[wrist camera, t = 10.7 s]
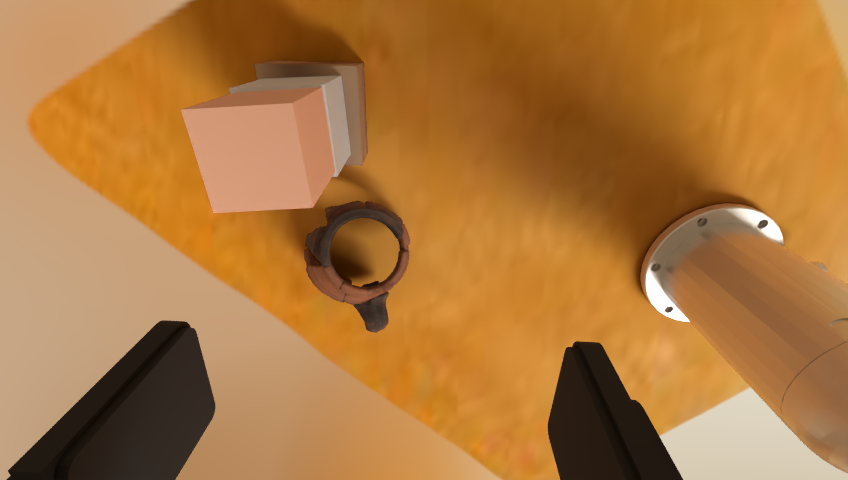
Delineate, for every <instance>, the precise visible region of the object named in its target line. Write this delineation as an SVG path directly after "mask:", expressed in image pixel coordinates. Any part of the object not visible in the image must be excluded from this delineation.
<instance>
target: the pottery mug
mask: <svg viewBox="0 0 848 480" xmlns="http://www.w3.org/2000/svg"><path fill="white" fill-rule="evenodd" d="M325 211H326V217H327V226H320V227H319V228H316V229H315V230H314V231H313V232H312V233H310V234H308V235H307V238H306V242H305V246H306V247H308V248H307V249H305V250H304V257H305V261H306V264H307V268H306V271H307V273H308V276H309V278H310V279H311V281H312V283H313V284H314V285H315V286H316V287H317V288H318V289H319V290H320V291H321V292H322V293H324V294H326V295H327V296H330V297H331V298H332V299H334V300H337V301H340V302H346V303H349V304H352V305H354V307H355V308H356V309H357V310H358V312H359V313H360V315H361V317H362V318H363V320H364V322H365V326H366V329H367V330H368V331H370V332H375V333H377V332H378V331H380V330H383V329H384V328H385V327H386V325H387V324H388V314H387V309H386V299H387V297H388V294H389V292H388V290H390V289H391V288H392V287H393V286H394V285H395V284H396V283H397V282H398V281H399V280H400V279H401V278H402V276H403V274H404V272H405V271H406V268H407V266H408V260H409V251H408V250H409V249H408V245H409V244H410V239H409V235H408V232H407V229H406V227H405V225H404V224H403V222H402V220H401V218H400V217H398V216H397V215H396V214H395V213H393V212H392V211H390V210H389V209H387V208H385V207H383V206H381V205H379V204H376V203H373V202H369V201H367V202H365V204H364V203H362V202H360V201H355V202H350V203H347V204H344V205H340V206H335V207H328V208H326V209H325ZM356 218H372V219H375V220H377V221H380V222H382V223H383V224H385V225H386V226H387V227H388V228H389V229H390V230H391V231H392V232H393V234H394V235H395V237H396V238H397V239H398V241H399V245H400V251H399V256H398V261H397V264H396V267H395V269H394V270H393V272H392V273H391V275H390V276H389V277H388V278H387V279H386V280H384V281H383V282H381V283H379V282H378V281H375V282H372V283H370V284H365V285H363V286H362V287H359V286H355V285H352V281H351V280H343V279H342V278H341V277H340V276H339V275H338V274H337V272H336V271H335V269H334V267H333V265H332V264H331V260H330V245H331V242H332V239H333V237H334V235H335V233H336V231H337V230H338V228H340V227H341V226H342V225H343V224H345V223H346V222H348V221H350V220H353V219H356ZM313 255H314V256H315V257H316V258H317V259H318V260H319V262H320V263H321V265H317V264H316V262H315V259H314V257H313Z"/></svg>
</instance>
